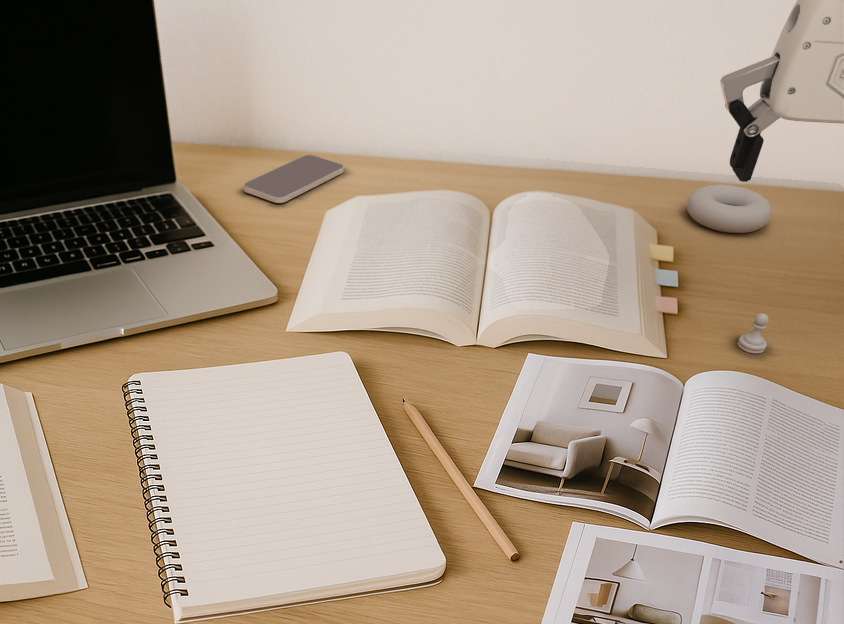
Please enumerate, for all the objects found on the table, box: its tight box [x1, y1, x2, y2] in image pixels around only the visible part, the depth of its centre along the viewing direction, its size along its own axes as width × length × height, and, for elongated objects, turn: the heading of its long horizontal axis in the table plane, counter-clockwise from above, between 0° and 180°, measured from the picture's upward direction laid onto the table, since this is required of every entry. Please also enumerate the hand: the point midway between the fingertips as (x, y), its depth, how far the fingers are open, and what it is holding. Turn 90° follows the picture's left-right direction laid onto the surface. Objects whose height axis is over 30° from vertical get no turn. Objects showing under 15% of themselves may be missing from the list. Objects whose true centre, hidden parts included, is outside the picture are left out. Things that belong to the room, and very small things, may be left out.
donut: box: [686, 183, 773, 234], centre depth 108 cm, size 10×4×10 cm
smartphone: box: [242, 154, 345, 204], centre depth 119 cm, size 7×1×15 cm
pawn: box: [737, 312, 770, 355], centre depth 84 cm, size 3×3×4 cm
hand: (798, 179), depth 74 cm, fingers open, 9 cm apart
